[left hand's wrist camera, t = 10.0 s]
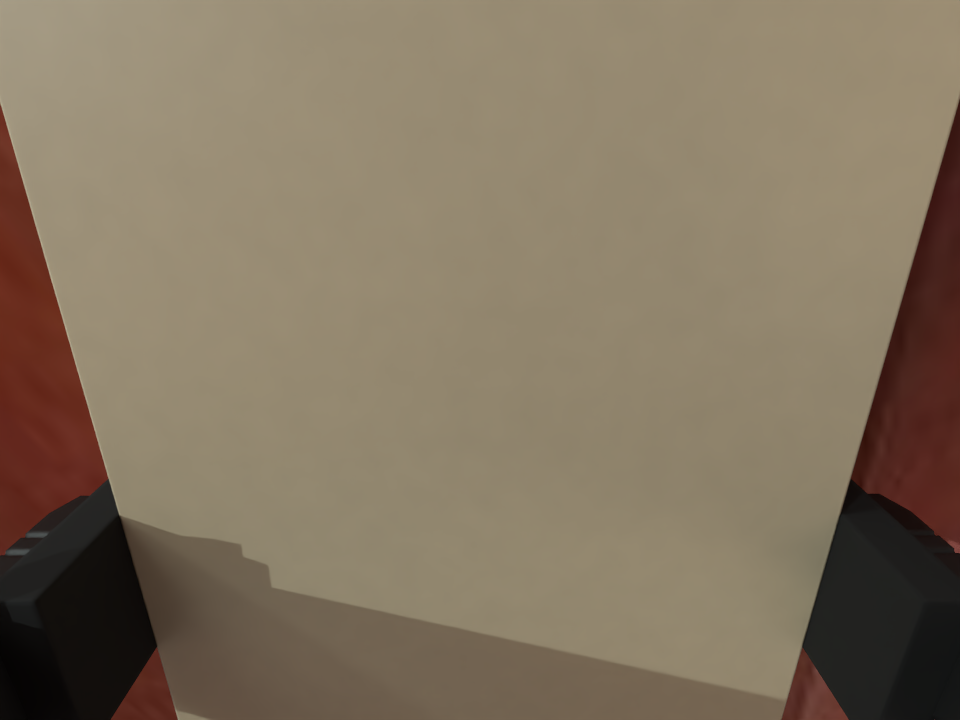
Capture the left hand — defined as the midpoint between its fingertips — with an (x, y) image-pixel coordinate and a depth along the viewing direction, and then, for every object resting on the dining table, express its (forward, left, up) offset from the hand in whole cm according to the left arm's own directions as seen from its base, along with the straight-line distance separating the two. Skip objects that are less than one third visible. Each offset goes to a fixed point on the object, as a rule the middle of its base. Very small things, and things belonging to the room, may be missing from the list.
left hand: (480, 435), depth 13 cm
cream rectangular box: (+5, -1, -4) cm, 6 cm away
